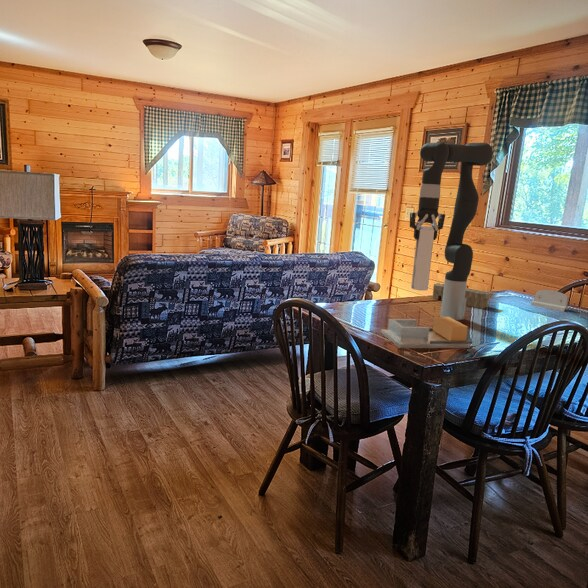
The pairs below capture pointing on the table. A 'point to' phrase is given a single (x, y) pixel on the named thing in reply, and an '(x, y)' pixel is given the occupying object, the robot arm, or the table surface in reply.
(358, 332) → the table surface
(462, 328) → the block
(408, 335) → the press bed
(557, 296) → the hinge
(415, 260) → the air filter
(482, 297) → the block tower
